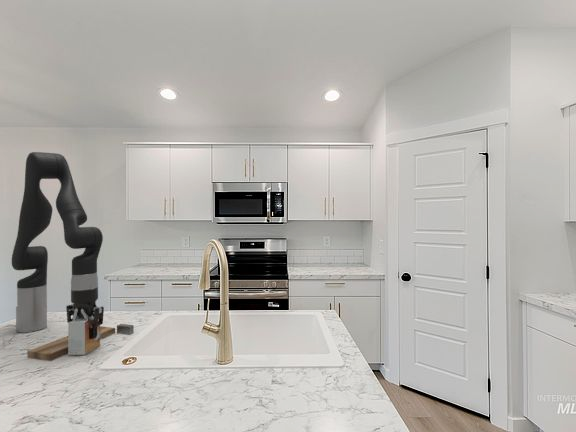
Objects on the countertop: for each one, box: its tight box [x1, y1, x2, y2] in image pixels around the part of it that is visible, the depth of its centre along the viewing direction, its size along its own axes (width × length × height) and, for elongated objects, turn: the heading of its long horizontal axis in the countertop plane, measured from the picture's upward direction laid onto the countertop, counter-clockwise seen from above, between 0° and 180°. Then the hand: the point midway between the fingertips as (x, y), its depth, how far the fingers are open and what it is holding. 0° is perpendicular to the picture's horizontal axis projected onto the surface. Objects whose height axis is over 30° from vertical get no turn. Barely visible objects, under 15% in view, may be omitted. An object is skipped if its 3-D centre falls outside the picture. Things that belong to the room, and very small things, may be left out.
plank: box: [26, 325, 116, 362], centre depth 107 cm, size 10×24×2 cm, turn 163°
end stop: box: [116, 323, 135, 336], centre depth 117 cm, size 6×2×3 cm, turn 73°
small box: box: [67, 315, 101, 356], centre depth 101 cm, size 8×6×10 cm
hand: (85, 337), depth 101 cm, fingers closed on small box, 6 cm apart
